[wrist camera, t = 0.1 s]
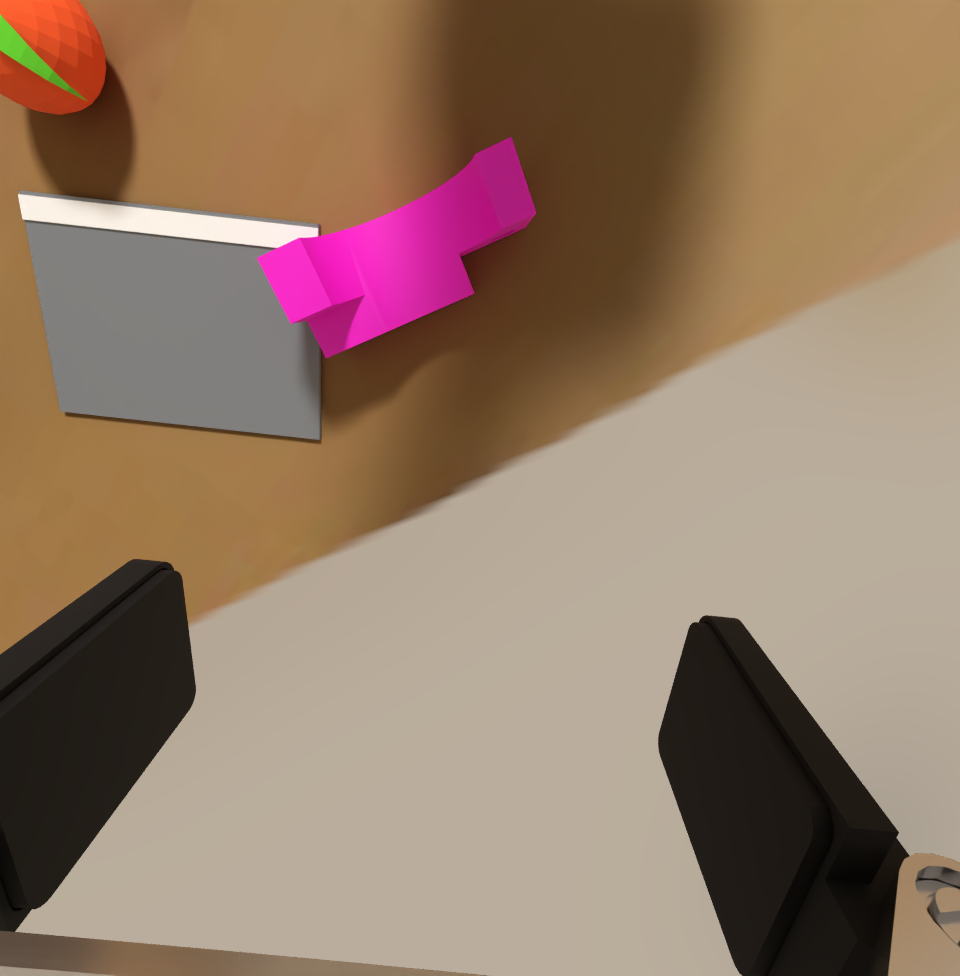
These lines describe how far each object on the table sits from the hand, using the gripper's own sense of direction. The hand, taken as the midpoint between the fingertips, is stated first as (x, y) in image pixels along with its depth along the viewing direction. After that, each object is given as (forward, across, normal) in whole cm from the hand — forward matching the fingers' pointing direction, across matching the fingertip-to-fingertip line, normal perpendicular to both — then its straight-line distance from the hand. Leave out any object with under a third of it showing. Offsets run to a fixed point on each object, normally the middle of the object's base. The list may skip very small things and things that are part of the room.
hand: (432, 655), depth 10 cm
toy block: (+31, +5, -8) cm, 32 cm away
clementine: (+31, +26, -17) cm, 44 cm away
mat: (+31, +22, -2) cm, 38 cm away
